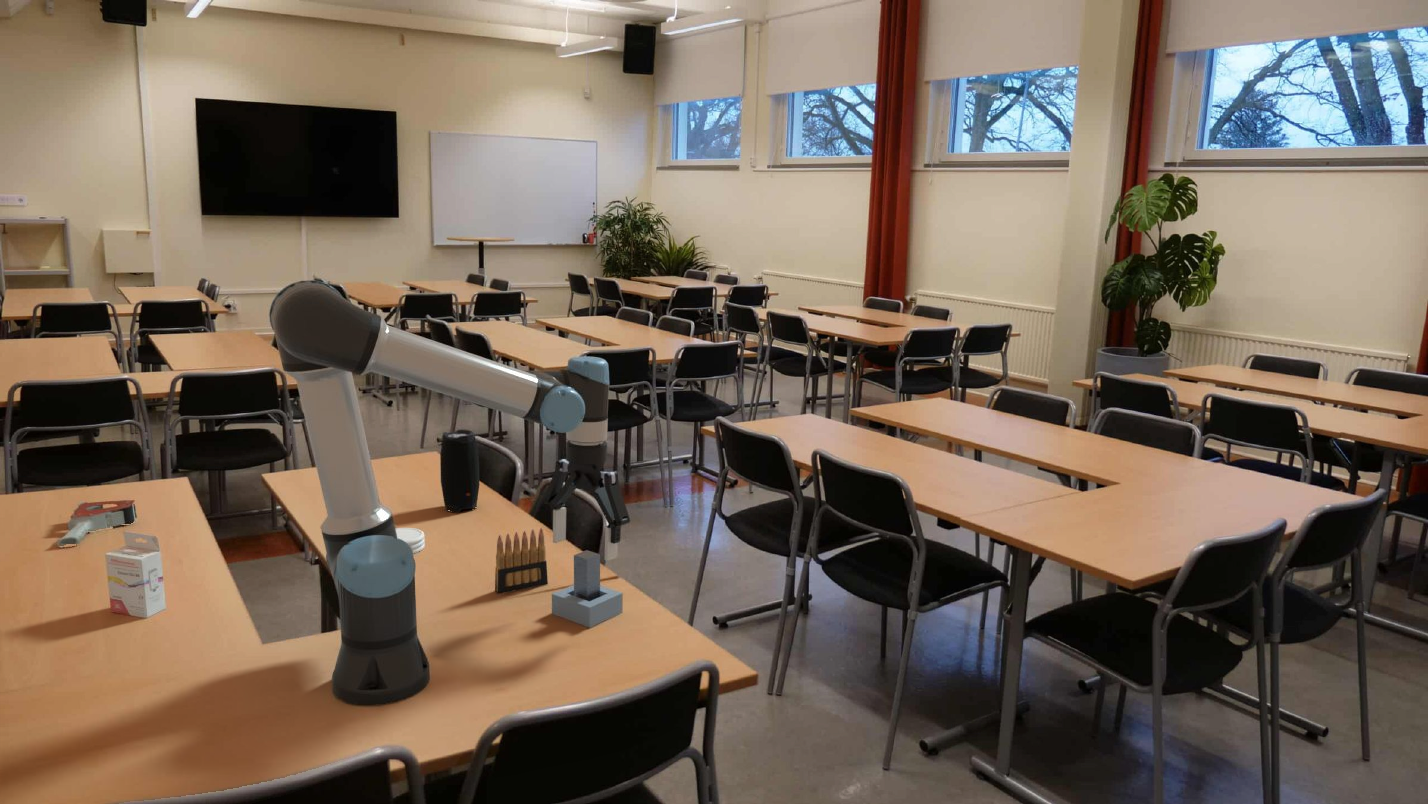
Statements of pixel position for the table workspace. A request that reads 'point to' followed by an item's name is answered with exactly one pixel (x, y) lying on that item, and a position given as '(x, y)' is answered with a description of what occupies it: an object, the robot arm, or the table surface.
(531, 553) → the ammunition clip
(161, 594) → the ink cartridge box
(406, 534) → the white ridged disc
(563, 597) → the slot block
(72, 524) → the tape dispenser
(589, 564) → the steel pin
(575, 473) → the robot arm
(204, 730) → the table surface
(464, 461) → the portable speaker
